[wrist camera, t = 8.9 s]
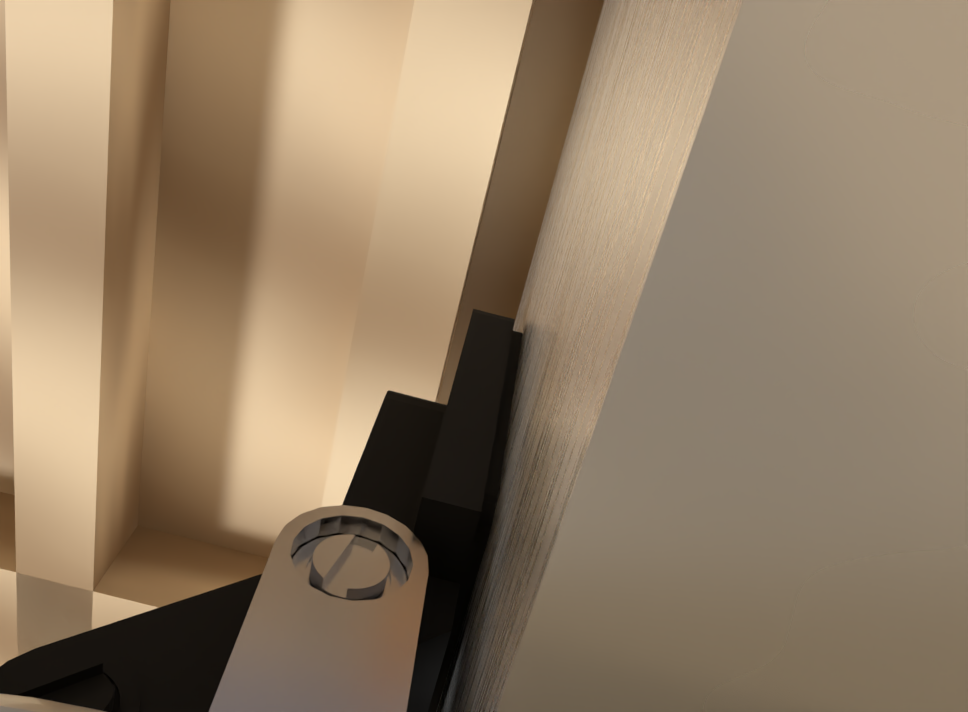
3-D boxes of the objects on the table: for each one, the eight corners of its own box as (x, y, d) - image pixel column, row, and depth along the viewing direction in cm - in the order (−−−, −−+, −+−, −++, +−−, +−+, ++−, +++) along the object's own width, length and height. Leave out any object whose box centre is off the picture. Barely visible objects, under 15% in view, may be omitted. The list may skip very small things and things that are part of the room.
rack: (-316, -839, 11) (-627, -1080, 8) (1096, -448, 12) (1265, -553, 9) (-143, 532, 22) (-255, 635, 19) (599, 714, 22) (600, 842, 19)
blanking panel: (654, -180, 11) (867, -359, 2) (869, -123, 11) (1809, -105, 2) (420, 661, 17) (260, 1395, 9) (554, 694, 17) (519, 1455, 9)
